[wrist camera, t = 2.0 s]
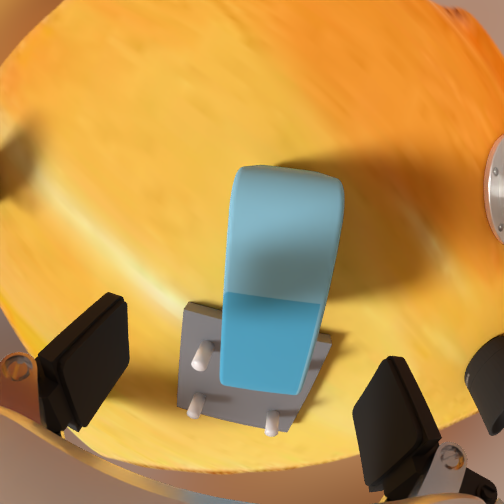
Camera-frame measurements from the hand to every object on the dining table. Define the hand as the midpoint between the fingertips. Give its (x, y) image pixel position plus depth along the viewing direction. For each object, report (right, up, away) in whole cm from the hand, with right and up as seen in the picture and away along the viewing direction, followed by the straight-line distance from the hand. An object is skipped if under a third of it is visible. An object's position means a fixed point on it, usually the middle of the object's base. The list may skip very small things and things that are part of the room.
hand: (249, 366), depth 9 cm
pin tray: (-1, -9, +19) cm, 22 cm away
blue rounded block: (+2, +5, +14) cm, 16 cm away
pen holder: (+32, -11, +16) cm, 37 cm away
